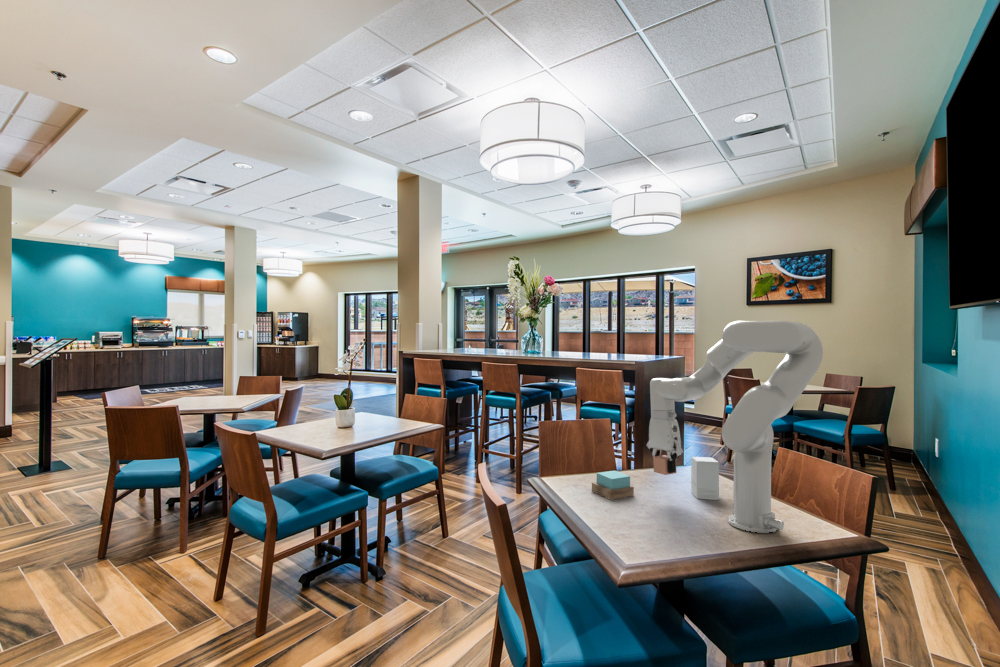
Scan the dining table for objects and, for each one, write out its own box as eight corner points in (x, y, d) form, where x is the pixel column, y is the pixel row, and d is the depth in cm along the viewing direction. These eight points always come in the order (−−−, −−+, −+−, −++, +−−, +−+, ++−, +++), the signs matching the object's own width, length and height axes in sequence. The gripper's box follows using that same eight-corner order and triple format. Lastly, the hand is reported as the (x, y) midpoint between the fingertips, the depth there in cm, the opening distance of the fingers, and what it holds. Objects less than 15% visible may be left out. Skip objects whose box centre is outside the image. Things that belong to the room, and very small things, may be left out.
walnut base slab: (633, 497, 160) (633, 486, 160) (610, 501, 155) (610, 490, 155) (613, 489, 169) (613, 479, 169) (591, 492, 164) (591, 482, 164)
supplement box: (719, 500, 156) (719, 462, 156) (696, 499, 157) (696, 461, 157) (713, 493, 163) (713, 457, 164) (690, 492, 164) (690, 456, 165)
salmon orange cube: (676, 473, 153) (675, 457, 154) (665, 475, 151) (664, 459, 151) (664, 470, 158) (664, 455, 158) (653, 471, 156) (653, 456, 156)
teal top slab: (630, 486, 160) (630, 476, 160) (611, 489, 157) (611, 479, 157) (614, 480, 167) (614, 470, 167) (596, 483, 164) (596, 472, 164)
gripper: (691, 416, 150) (694, 474, 149) (652, 412, 165) (653, 464, 164) (675, 418, 146) (677, 477, 145) (636, 413, 161) (637, 467, 160)
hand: (664, 470), depth 155 cm, fingers closed on salmon orange cube, 5 cm apart
